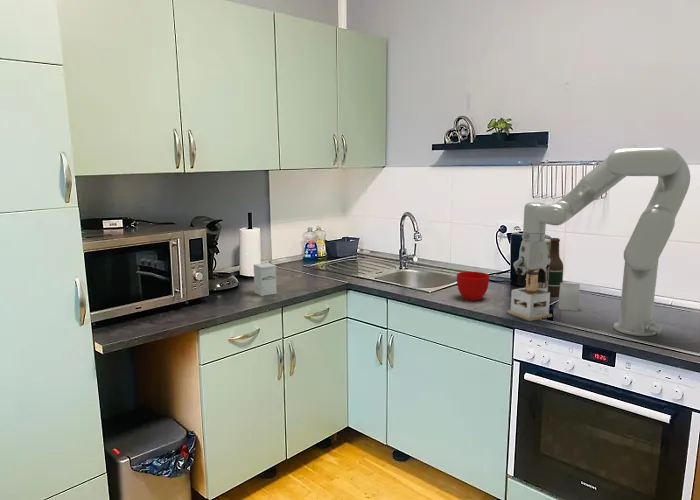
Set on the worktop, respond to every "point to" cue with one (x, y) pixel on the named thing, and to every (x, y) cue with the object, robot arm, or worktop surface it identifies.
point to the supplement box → (265, 279)
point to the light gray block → (569, 296)
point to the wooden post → (531, 283)
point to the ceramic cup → (472, 284)
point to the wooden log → (545, 285)
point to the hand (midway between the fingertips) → (531, 283)
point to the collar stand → (530, 304)
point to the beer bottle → (555, 269)
